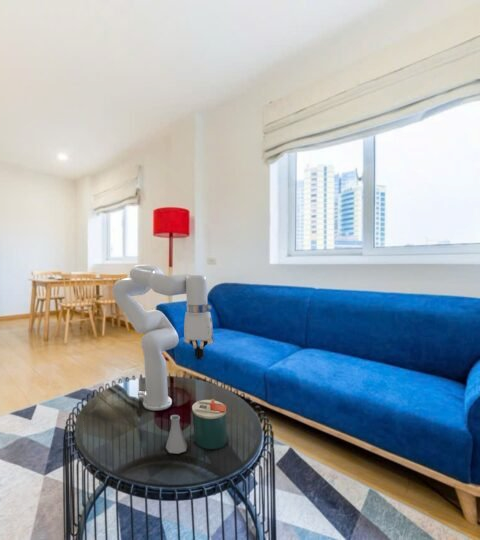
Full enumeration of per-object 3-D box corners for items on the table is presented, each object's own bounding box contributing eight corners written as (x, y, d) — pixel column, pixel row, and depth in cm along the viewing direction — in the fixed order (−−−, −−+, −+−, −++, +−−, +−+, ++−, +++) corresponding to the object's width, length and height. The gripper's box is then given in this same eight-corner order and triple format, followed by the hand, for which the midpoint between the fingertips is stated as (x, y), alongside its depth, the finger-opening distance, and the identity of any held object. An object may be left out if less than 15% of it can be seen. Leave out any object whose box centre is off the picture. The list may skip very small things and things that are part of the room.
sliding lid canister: (190, 446, 95) (188, 412, 94) (197, 427, 105) (195, 396, 105) (225, 452, 91) (223, 416, 91) (229, 431, 102) (227, 400, 101)
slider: (210, 410, 96) (210, 404, 96) (212, 404, 100) (212, 398, 100) (225, 412, 94) (224, 406, 94) (226, 406, 98) (226, 400, 98)
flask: (164, 441, 98) (163, 412, 98) (185, 439, 98) (184, 410, 98) (166, 455, 91) (165, 424, 90) (189, 453, 91) (188, 422, 91)
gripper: (219, 307, 106) (221, 356, 107) (180, 307, 111) (182, 354, 112) (216, 310, 99) (218, 363, 100) (174, 310, 104) (177, 360, 104)
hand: (199, 358), depth 106 cm, fingers closed
